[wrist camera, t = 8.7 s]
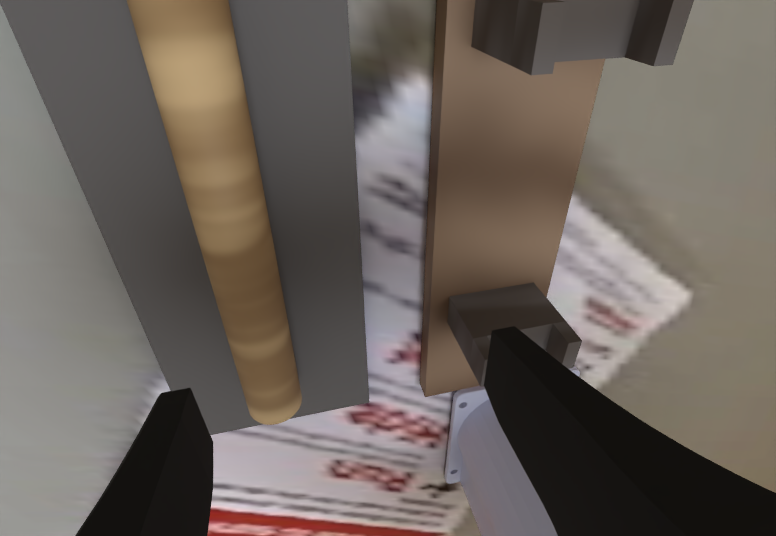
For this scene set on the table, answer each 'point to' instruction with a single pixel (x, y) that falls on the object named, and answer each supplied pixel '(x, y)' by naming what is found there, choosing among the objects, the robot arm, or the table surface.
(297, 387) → the rail
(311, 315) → the mat
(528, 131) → the hook stand
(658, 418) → the table surface
